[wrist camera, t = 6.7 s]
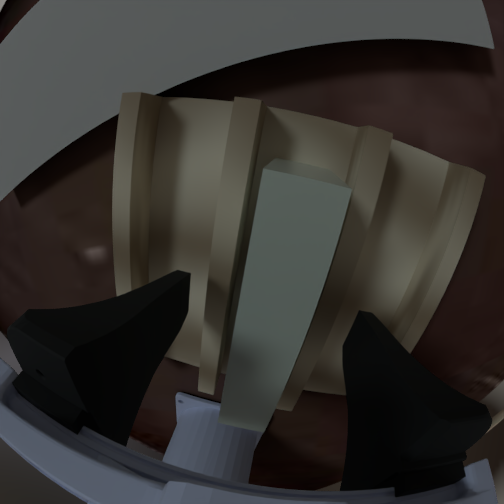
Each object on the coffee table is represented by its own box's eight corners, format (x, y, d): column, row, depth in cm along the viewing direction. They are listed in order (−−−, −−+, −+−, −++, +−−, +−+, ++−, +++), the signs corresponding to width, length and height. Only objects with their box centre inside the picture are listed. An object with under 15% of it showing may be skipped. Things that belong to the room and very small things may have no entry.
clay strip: (273, 366, 16) (263, 432, 12) (236, 358, 16) (217, 422, 12) (329, 169, 11) (351, 189, 7) (275, 157, 12) (263, 168, 7)
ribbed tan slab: (363, 386, 17) (368, 418, 15) (140, 337, 19) (121, 363, 16) (460, 169, 11) (492, 179, 8) (146, 98, 12) (113, 93, 9)
